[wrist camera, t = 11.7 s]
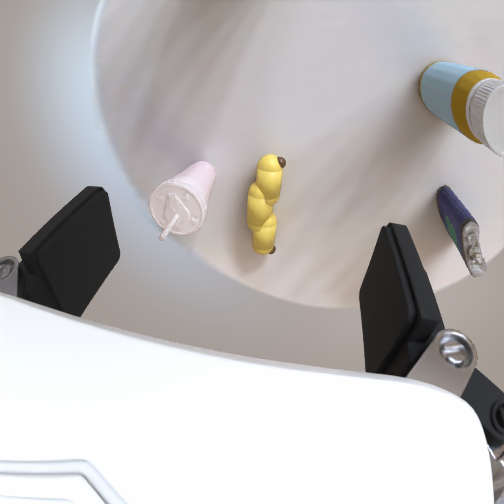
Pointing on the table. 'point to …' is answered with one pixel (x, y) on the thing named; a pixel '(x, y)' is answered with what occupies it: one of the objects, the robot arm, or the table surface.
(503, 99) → the bottle
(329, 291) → the table surface
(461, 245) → the flask
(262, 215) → the yellow lumpy bar
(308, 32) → the table surface
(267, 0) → the table surface
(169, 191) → the smoothie
